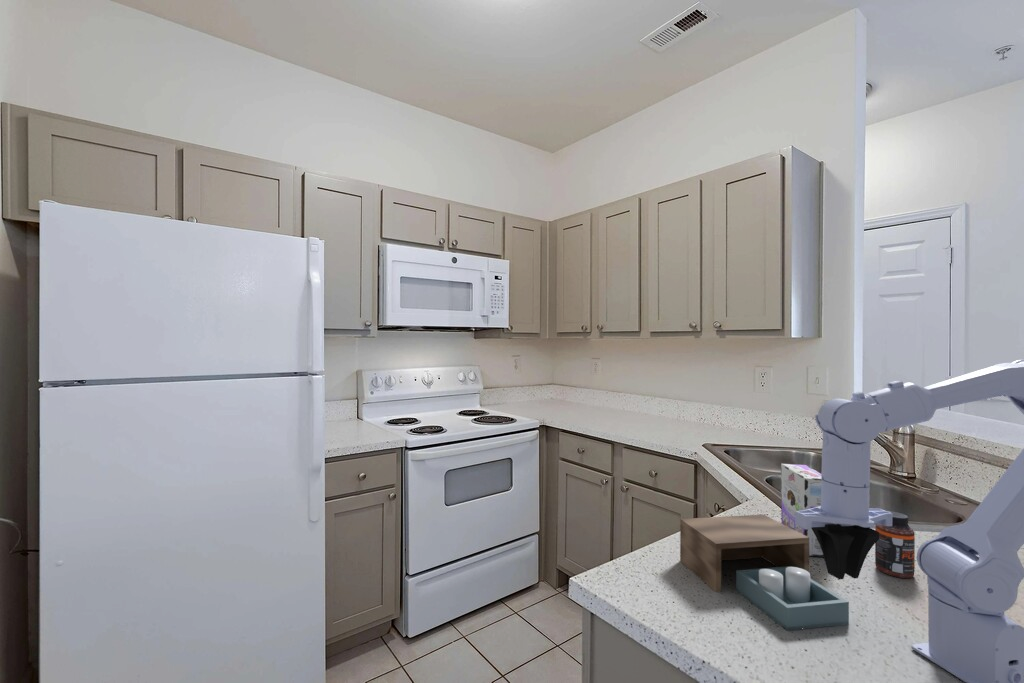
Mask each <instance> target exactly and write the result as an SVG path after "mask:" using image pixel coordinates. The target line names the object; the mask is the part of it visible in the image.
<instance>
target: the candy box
mask: <svg viewBox="0 0 1024 683" xmlns="http://www.w3.org/2000/svg"><path fill="white" fill-rule="evenodd" d="M780 487H781V488H780V493H781V494H780V498H781V499H780V500H781V501H780V503H781V504H780V505H781V506H780V507H781V508H780V509H781V511H780V512H781V516H780V518H781V519H780V520H781V522H780V523H781V524H783V525H785V526H787V527H789V528H791V529H793V530H795V531H797V532H799V533H801V534H803V535H805V536H807V537H809V557H819V558H824V556H823V552H822V549H821V547H820V544H819V542H818V540H817V538H816V536H815V534H814V532H813V530H812V529H804V528H802V527H800V526H798V525H796V524H795V511H803V510H807V509H811V508H815V507H819V506H821V472H819V471H817V470H815V469H813V468H812V467H810V466H808V465H807V464H794V463H781V464H780Z"/></svg>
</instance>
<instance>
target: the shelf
mask: <svg viewBox="0 0 1024 683" xmlns="http://www.w3.org/2000/svg"><path fill="white" fill-rule="evenodd" d="M679 523H680V527H679V528H680V534H679V536H680V537H679V538H680V539H679V540H680V541H679V542H680V546H679V550H680V552H679V553H680V554H679V557H680V558H679V561H680V562H681V563H682V564H683V565H685V567H686V568H688V569H689V570H690V571H691V572H692V573H694V575H696V576H697V577H698V578H700V579H701V580H702V581H703V582H704V584H705V583H706V584H707V585H708V586H709V587H710V588H711V589H712V590H713V591H715V593H717V592H722V561H730V560H731V561H732V560H744V559H745V560H747V559H758V558H763V560H764V559H765V560H766V561H767V562H769V563H771V564H772V565H774V566H775V567H787V566H791V567H798V568H801V569H804V570H806V571H808V572H809V573H810V556H809V537H807V536H805V535H803V534H801V533H799V532H797V531H795V530H793V529H791V528H789V527H787V526H785V525H783V524H781V522H779V521H777V520H775V519H774V518H772V517H769V516H767V515H765V514H762V513H761V514H748V515H747V514H745V515H732V516H731V515H730V516H729V515H728V516H726V515H725V516H712V517H696V518H695V517H694V518H680V522H679Z"/></svg>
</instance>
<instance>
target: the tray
mask: <svg viewBox="0 0 1024 683" xmlns="http://www.w3.org/2000/svg"><path fill="white" fill-rule="evenodd" d="M735 571H736V572H735V573H736V575H735V576H736V577H735V584H736V585H735V590H736V591H737V593H740V594H741V595H742V596H743V597H745V598H746V599H747V600H748V601H749V602H751V603H752V604H753V605H754V606H756V607H757V608H758V610H760V611H762V612H763V613H764V612H765V613H764V614H765V615H767V616H768V617H769V616H770V617H769V618H771V620H773V619H774V620H775V623H777V624H778V623H779V624H780V625H779V624H778V625H779V626H781V627H782V626H783V627H784V628H785V629H784V628H783V627H782V628H783V629H784V630H786V631H787V630H790V631H796V630H795V629H800V630H803V629H802V628H809V629H814V628H813V627H819V628H822V627H821V626H828V627H834V626H835V625H838V626H847V625H849V623H850V618H849V617H850V616H849V615H850V614H849V613H850V609H849V608H850V605H849V603H850V601H848V600H846V599H845V598H843V597H841V596H840V595H838V594H837V593H835V592H833V591H832V590H830V589H829V588H826V587H825V586H823V585H822V584H820V583H818V582H817V581H815V580H814V579H812V578H811V573H810V571H809V572H808V571H806V570H804V569H801V568H798V567H791V566H787V567H777V566H775V567H765V568H749V569H738V570H735ZM774 620H773V621H774ZM835 627H836V626H835Z"/></svg>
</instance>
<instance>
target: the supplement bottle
mask: <svg viewBox="0 0 1024 683" xmlns="http://www.w3.org/2000/svg"><path fill="white" fill-rule="evenodd" d="M887 511H888V512H890V513H892V514H893V516H892V526H884V525H874V530H876V531H878V532H879V540H878V541H877V542H876V543H875V544H874V547H875V550H874V551H875V552H874V557H875V558H874V559H875V561H874V562H875V567H876V569H877V570H879V572H882V573H884V574H886V575H888V576H892V577H895V578H899V579H911V578H913V577H914V576H915V571H916V570H915V569H916V567H915V550H916V549H915V547H916V545H915V544H916V540H915V530H914V529H913V527H912V528H911V527H910V525H909V517H908V515H906V514H904V513H900V512H896V511H890V510H887Z"/></svg>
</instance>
